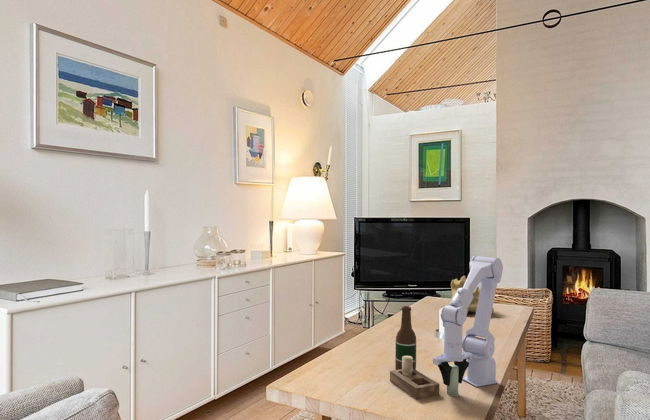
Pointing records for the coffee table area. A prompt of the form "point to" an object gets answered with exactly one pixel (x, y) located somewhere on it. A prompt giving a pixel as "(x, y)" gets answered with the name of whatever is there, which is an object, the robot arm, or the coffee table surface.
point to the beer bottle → (405, 339)
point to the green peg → (453, 381)
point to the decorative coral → (473, 305)
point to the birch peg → (407, 365)
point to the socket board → (415, 384)
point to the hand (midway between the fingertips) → (452, 383)
